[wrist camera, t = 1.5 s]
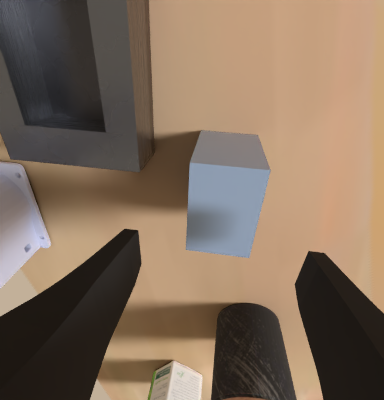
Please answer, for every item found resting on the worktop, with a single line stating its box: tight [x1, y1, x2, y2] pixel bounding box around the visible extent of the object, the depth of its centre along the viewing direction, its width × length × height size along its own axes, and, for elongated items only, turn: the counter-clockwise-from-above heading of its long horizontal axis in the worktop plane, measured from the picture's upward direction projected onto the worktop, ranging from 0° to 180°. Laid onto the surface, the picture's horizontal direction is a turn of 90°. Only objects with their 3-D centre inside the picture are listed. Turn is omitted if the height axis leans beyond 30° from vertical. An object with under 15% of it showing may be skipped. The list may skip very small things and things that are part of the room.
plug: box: [186, 130, 270, 258], centre depth 16 cm, size 6×4×6 cm, turn 177°
